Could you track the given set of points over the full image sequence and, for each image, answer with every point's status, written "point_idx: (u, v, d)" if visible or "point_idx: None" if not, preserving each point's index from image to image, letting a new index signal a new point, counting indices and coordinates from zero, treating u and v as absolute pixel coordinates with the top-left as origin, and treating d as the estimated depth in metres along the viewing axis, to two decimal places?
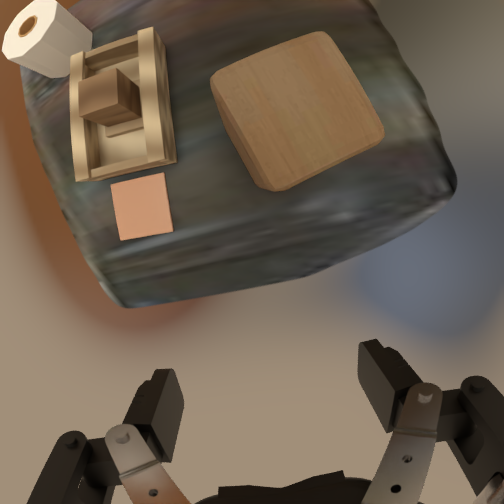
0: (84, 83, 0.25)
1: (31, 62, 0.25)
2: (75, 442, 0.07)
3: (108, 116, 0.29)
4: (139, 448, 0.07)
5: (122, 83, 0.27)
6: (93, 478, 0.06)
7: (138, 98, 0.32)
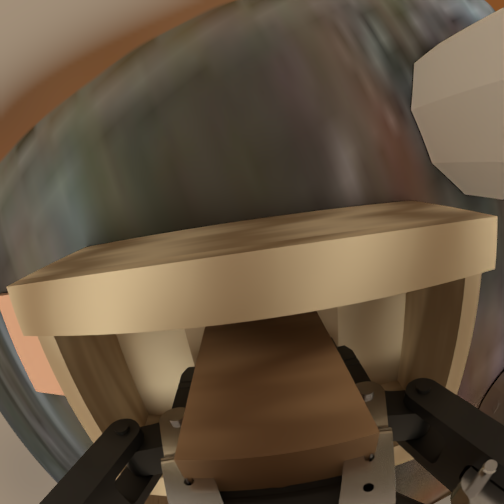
0: None
1: None
2: (127, 430, 0.07)
3: None
4: None
5: None
6: (138, 467, 0.07)
7: None
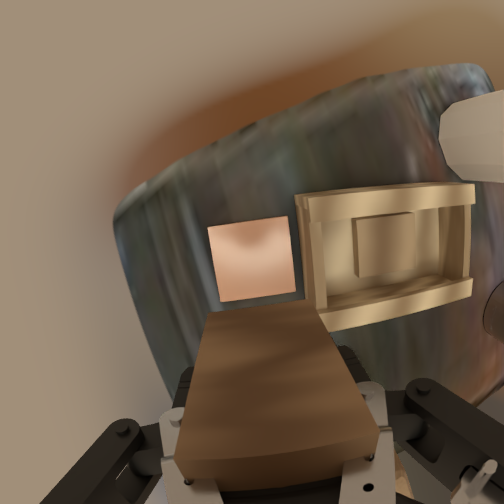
0: None
1: (487, 127, 0.19)
2: (127, 430, 0.07)
3: None
4: None
5: None
6: (138, 468, 0.07)
7: None
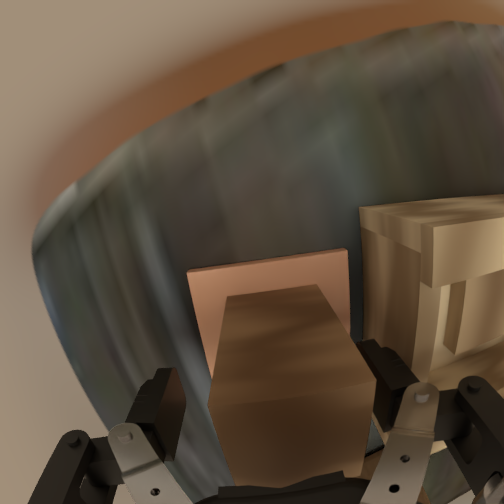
0: (355, 407, 0.07)
1: None
2: (78, 441, 0.07)
3: None
4: (142, 447, 0.07)
5: None
6: (95, 477, 0.07)
7: None
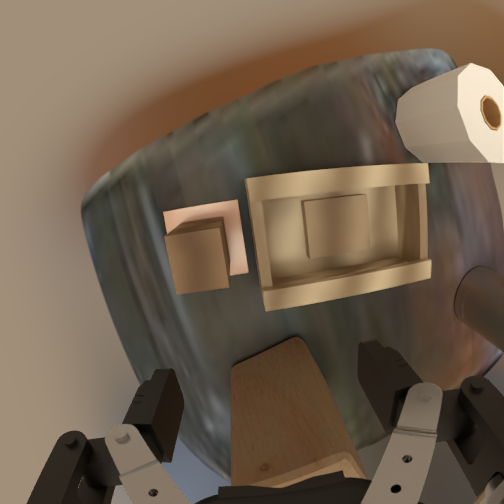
0: (214, 239, 0.24)
1: (438, 105, 0.21)
2: (75, 442, 0.07)
3: None
4: (139, 448, 0.07)
5: None
6: (93, 478, 0.06)
7: None
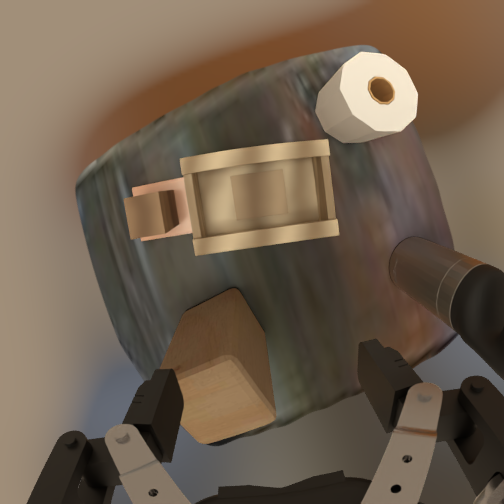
0: (154, 199, 0.33)
1: (332, 91, 0.30)
2: (75, 442, 0.07)
3: None
4: (139, 448, 0.07)
5: None
6: (93, 478, 0.06)
7: None
